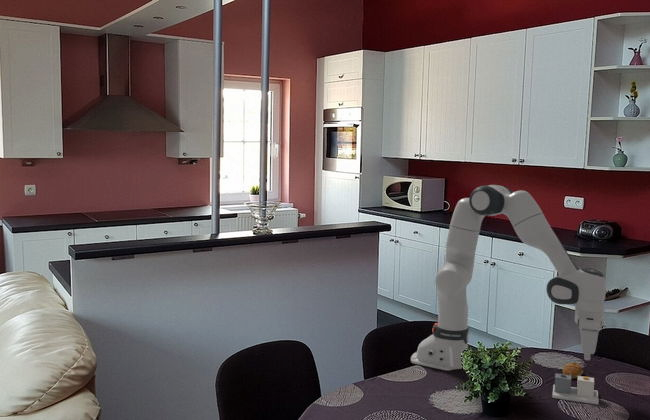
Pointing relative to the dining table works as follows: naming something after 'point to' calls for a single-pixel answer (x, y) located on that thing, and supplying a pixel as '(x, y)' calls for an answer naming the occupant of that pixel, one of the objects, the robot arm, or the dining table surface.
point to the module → (585, 386)
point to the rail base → (576, 397)
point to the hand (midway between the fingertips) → (587, 359)
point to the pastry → (573, 370)
